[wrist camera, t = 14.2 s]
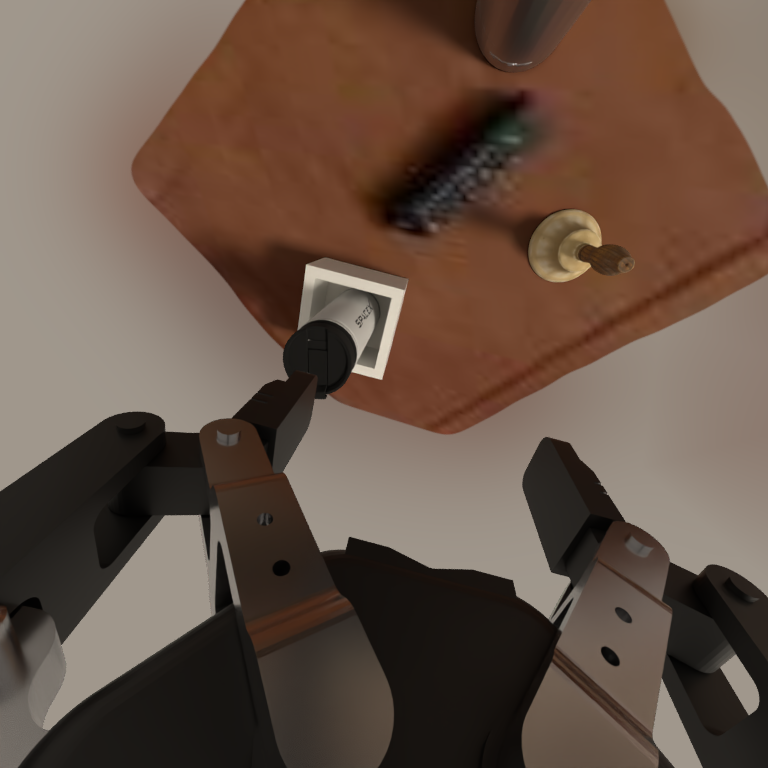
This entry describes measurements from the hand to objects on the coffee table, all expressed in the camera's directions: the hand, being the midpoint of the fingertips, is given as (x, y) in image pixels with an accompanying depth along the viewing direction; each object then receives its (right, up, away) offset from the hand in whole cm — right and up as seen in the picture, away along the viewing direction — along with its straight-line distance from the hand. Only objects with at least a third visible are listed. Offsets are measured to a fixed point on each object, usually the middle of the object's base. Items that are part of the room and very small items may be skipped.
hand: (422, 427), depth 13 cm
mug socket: (-5, +12, +37) cm, 40 cm away
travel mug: (-5, +11, +37) cm, 39 cm away
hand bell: (+21, +18, +31) cm, 42 cm away
